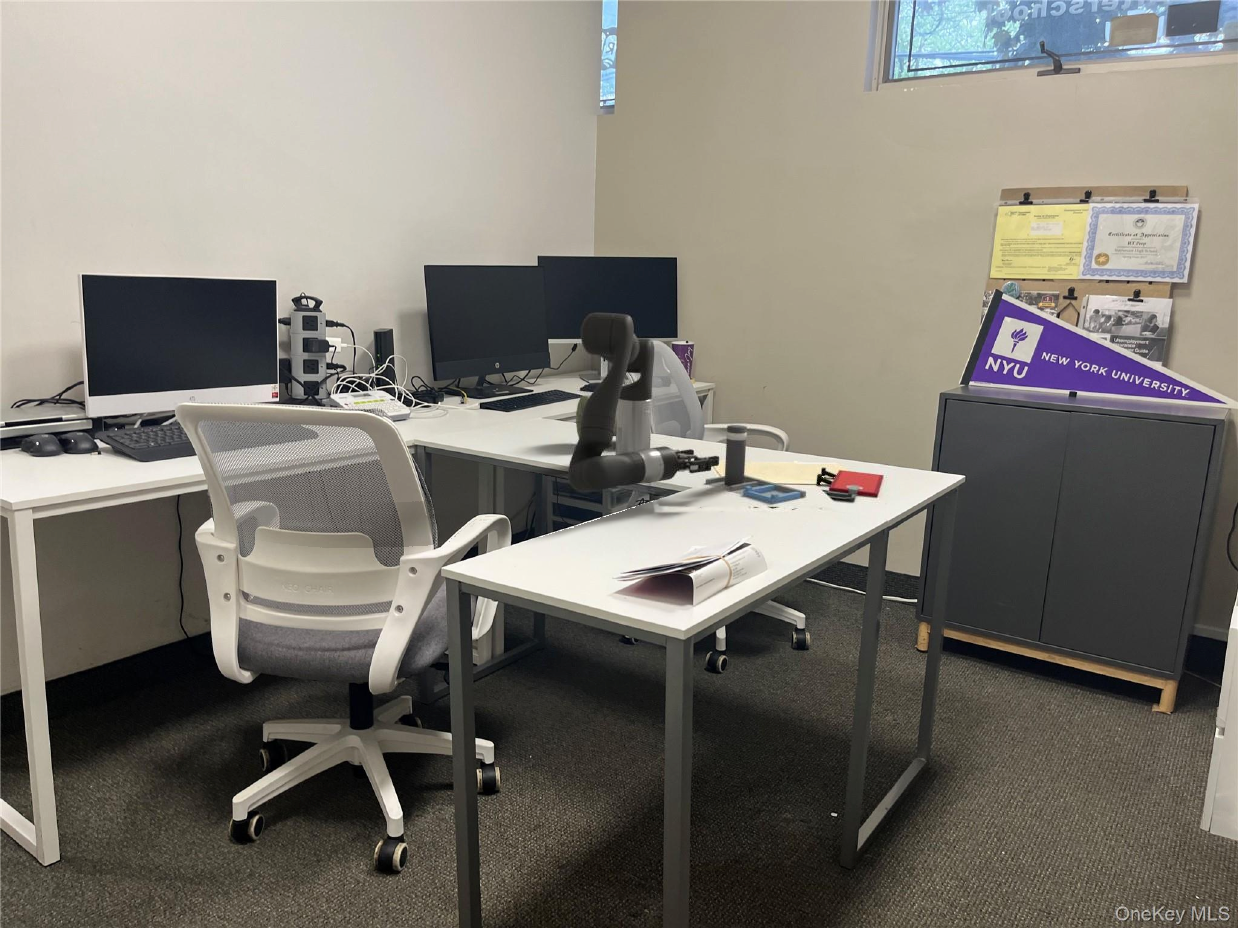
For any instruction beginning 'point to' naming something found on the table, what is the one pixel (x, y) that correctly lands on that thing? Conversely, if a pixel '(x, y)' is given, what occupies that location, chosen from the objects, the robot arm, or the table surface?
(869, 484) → the red board with handle
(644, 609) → the table surface
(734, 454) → the banded grey cylinder
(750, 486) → the blue and grey tray
